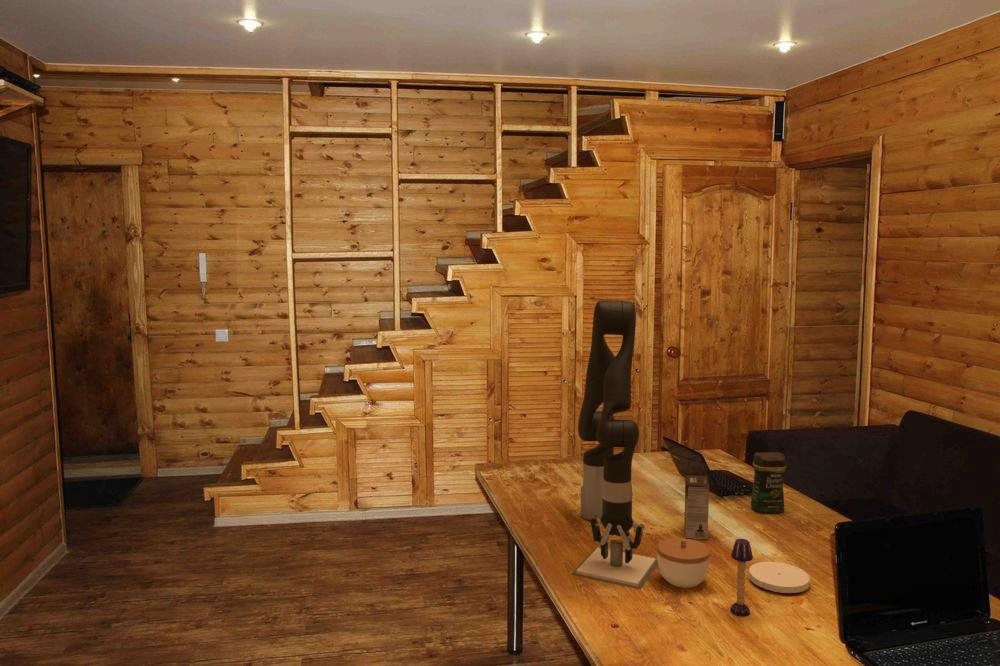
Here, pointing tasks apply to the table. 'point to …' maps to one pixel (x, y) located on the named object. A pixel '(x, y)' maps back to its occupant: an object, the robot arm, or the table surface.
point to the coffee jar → (768, 482)
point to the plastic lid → (779, 577)
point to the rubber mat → (617, 582)
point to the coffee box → (696, 506)
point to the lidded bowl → (683, 561)
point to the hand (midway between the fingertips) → (616, 559)
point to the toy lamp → (741, 575)
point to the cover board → (616, 572)
